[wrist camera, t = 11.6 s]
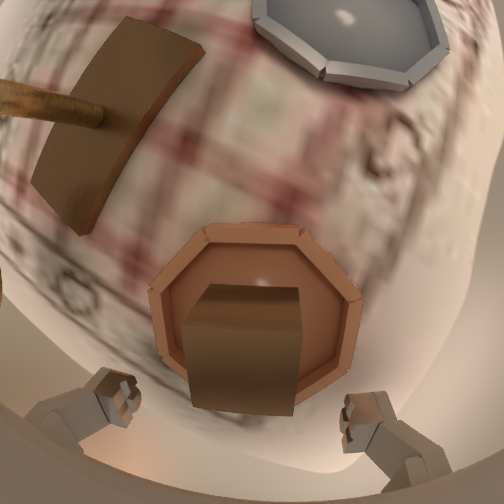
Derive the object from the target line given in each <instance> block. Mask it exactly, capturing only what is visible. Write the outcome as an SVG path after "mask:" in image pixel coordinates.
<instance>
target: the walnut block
mask: <svg viewBox="0 0 504 504" xmlns="http://www.w3.org/2000/svg"><path fill="white" fill-rule="evenodd" d="M180 326H181V334H182V342H183V349H184V356H185V363H186V369H187V375H188V382H189V387H190V393H191V399H192V404H193V407H196V408H202V409H209V410H216V411H224V412H233V413H243V414H254V415H269V416H293V411H294V404H295V397H296V389H297V382H298V374H299V366H300V357H301V348H302V339H303V327H302V317H301V308H300V299H299V290H298V287H272V286H248V285H228V284H209V286H208V287H207V289H206V290H205V291H204V293H203V294H202V295H201V297H200V298H199V299H198V301H197V302H196V304H195V305H194V306H193V308H192V309H191V310H190V312H189V313H188V315H187V316H186V317H185V319H184V320H183V321H182V323H181V324H180Z"/></svg>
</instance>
